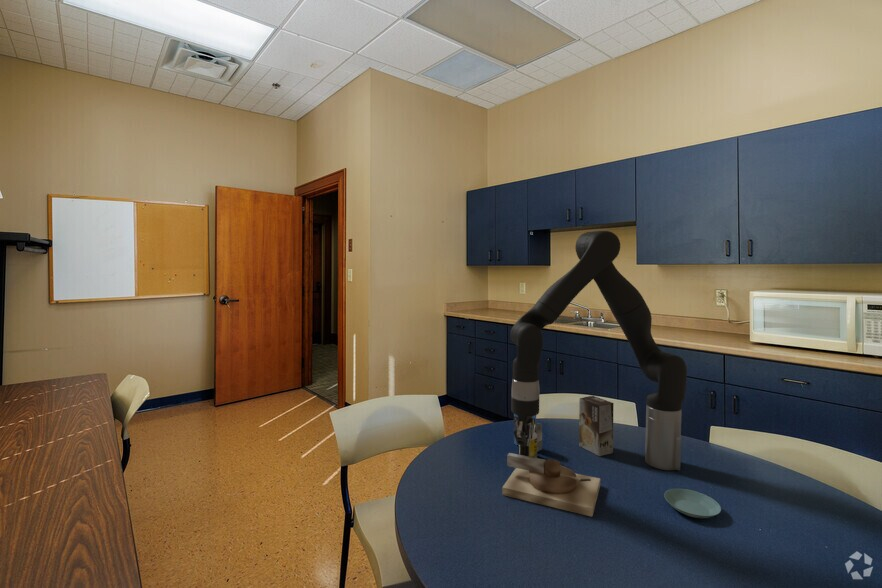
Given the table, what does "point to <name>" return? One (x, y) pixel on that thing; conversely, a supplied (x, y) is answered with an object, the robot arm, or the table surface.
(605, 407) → the coffee box
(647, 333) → the robot arm
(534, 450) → the supplement bottle
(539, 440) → the label tape box
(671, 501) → the saucer
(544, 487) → the dial
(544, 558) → the table surface
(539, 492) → the base plate
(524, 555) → the table surface
